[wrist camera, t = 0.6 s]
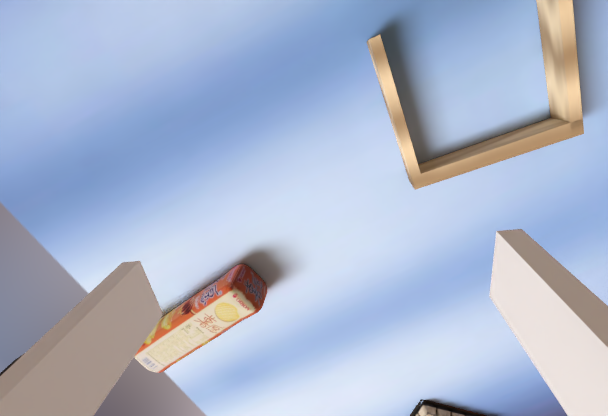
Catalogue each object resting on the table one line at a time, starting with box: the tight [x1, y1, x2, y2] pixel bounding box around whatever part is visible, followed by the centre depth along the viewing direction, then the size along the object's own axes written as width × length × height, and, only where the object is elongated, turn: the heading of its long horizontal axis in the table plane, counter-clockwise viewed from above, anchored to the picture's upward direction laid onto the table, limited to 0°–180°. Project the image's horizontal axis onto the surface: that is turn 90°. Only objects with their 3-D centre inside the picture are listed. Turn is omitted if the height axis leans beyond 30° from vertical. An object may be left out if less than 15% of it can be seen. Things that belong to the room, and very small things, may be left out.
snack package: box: [134, 264, 267, 373], centre depth 44 cm, size 21×7×7 cm, turn 129°
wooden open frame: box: [367, 0, 584, 189], centre depth 30 cm, size 16×16×3 cm
